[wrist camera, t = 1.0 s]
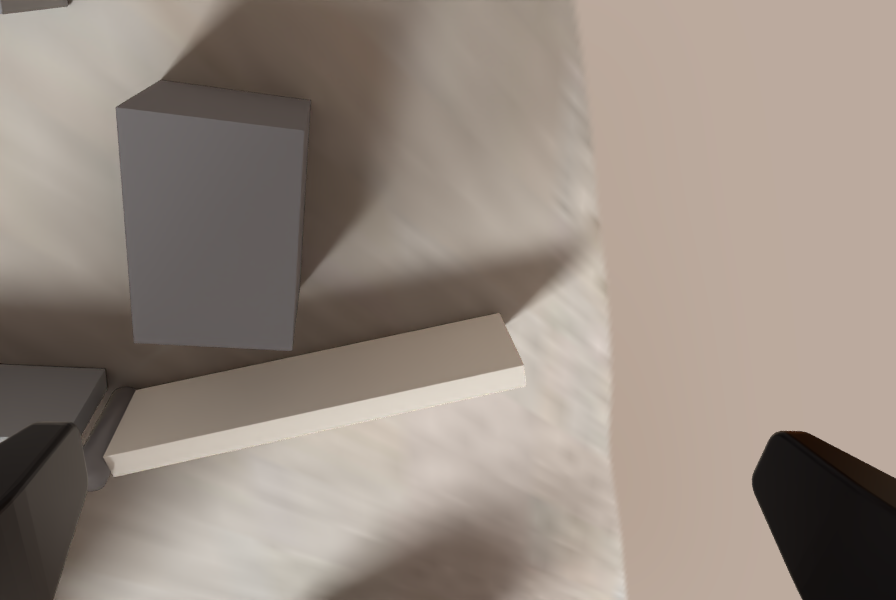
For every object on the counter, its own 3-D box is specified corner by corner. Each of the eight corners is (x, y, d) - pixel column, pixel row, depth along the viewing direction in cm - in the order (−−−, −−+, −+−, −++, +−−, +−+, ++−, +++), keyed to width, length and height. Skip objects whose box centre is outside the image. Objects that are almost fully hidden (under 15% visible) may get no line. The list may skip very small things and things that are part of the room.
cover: (118, 413, 21) (77, 494, 18) (106, 390, 21) (62, 469, 18) (500, 331, 22) (529, 394, 19) (497, 307, 22) (526, 367, 18)
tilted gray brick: (299, 286, 20) (292, 351, 17) (170, 276, 20) (133, 343, 16) (310, 99, 18) (304, 130, 14) (161, 79, 17) (115, 106, 13)
